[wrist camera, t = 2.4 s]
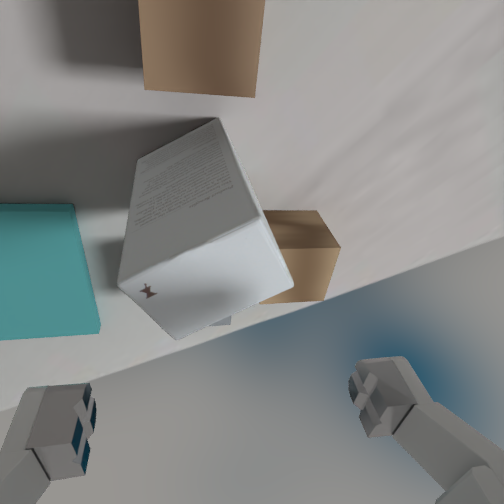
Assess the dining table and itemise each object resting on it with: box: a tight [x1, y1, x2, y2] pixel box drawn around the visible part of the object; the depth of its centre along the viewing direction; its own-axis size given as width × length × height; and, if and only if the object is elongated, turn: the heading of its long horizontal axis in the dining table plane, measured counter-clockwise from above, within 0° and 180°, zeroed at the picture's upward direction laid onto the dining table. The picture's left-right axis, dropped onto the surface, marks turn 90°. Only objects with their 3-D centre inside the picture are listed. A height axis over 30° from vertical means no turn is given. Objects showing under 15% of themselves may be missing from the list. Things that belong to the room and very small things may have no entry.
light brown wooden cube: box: [259, 210, 341, 304], centre depth 26 cm, size 5×5×5 cm
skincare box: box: [117, 118, 294, 340], centre depth 18 cm, size 6×4×12 cm
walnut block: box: [138, 0, 265, 98], centre depth 16 cm, size 5×5×5 cm
